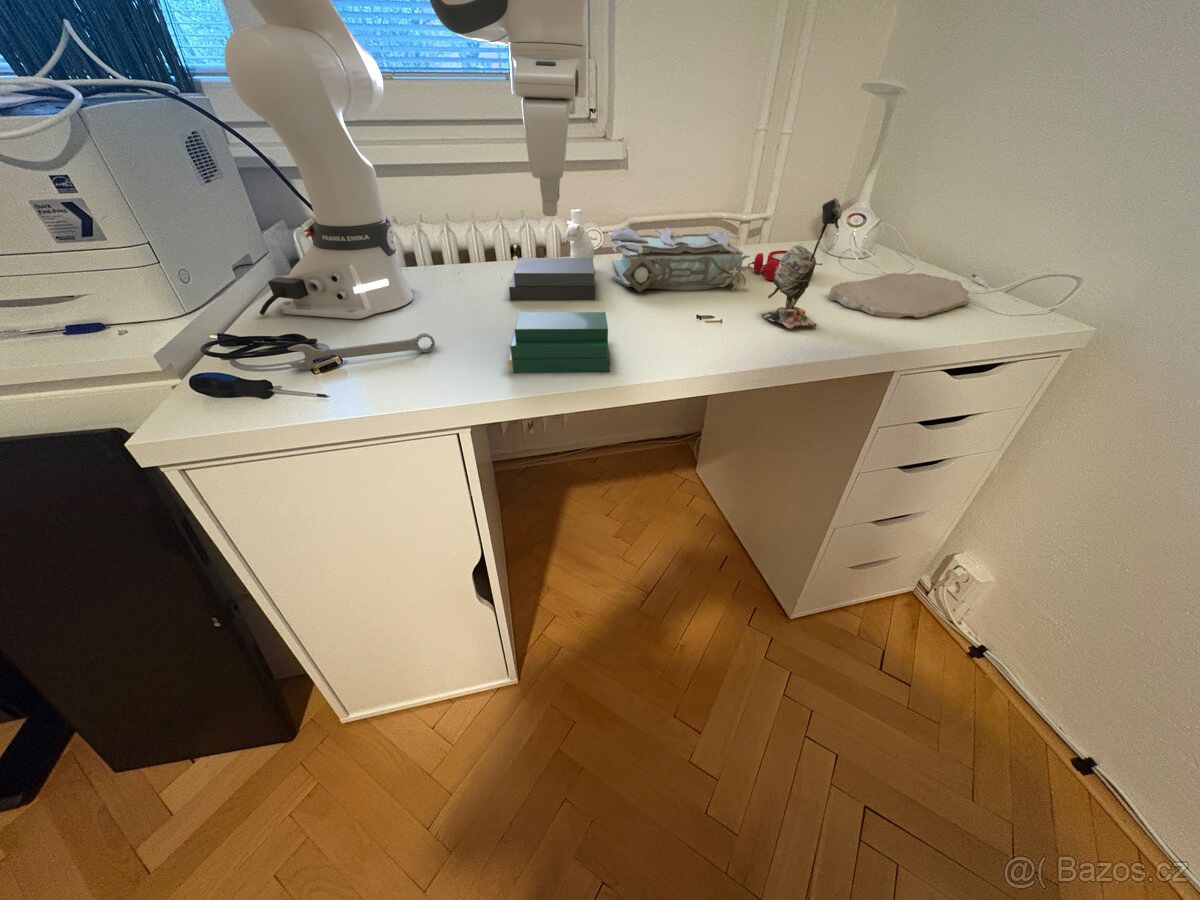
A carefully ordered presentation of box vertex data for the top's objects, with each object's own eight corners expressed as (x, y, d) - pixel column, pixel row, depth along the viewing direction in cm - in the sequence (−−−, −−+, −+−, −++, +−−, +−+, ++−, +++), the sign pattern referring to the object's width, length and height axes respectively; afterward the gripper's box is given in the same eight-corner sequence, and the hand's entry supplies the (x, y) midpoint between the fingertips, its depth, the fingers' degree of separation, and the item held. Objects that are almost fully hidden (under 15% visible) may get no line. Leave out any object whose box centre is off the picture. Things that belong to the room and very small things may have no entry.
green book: (515, 342, 68) (514, 329, 67) (519, 325, 73) (518, 312, 72) (607, 342, 68) (608, 328, 67) (605, 324, 73) (605, 311, 72)
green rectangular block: (510, 372, 69) (507, 347, 67) (515, 346, 76) (513, 321, 74) (609, 371, 70) (610, 346, 67) (606, 345, 77) (606, 321, 74)
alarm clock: (829, 262, 103) (772, 249, 98) (815, 291, 107) (759, 280, 102) (801, 250, 111) (747, 237, 106) (789, 277, 115) (736, 266, 110)
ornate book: (618, 302, 96) (762, 292, 99) (619, 251, 90) (771, 242, 93) (603, 268, 114) (725, 261, 117) (602, 225, 108) (731, 218, 111)
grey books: (510, 299, 93) (507, 273, 90) (515, 281, 102) (513, 257, 99) (595, 299, 94) (595, 273, 91) (593, 281, 102) (593, 257, 99)
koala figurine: (561, 263, 113) (559, 207, 105) (589, 262, 114) (590, 206, 106) (566, 274, 106) (564, 215, 99) (596, 273, 107) (596, 214, 100)
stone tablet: (818, 296, 97) (821, 284, 95) (918, 278, 107) (922, 267, 106) (888, 327, 85) (893, 314, 84) (993, 303, 95) (999, 291, 94)
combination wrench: (432, 328, 73) (282, 344, 67) (433, 331, 72) (281, 347, 66) (436, 351, 75) (291, 368, 69) (437, 354, 74) (290, 372, 68)
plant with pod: (793, 307, 92) (824, 190, 80) (821, 331, 83) (860, 202, 71) (752, 308, 91) (777, 190, 79) (775, 332, 82) (807, 202, 70)
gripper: (528, 78, 65) (534, 193, 73) (512, 75, 48) (521, 223, 57) (575, 80, 65) (575, 194, 73) (575, 78, 49) (575, 225, 57)
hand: (551, 207), depth 65 cm, fingers open, 8 cm apart
